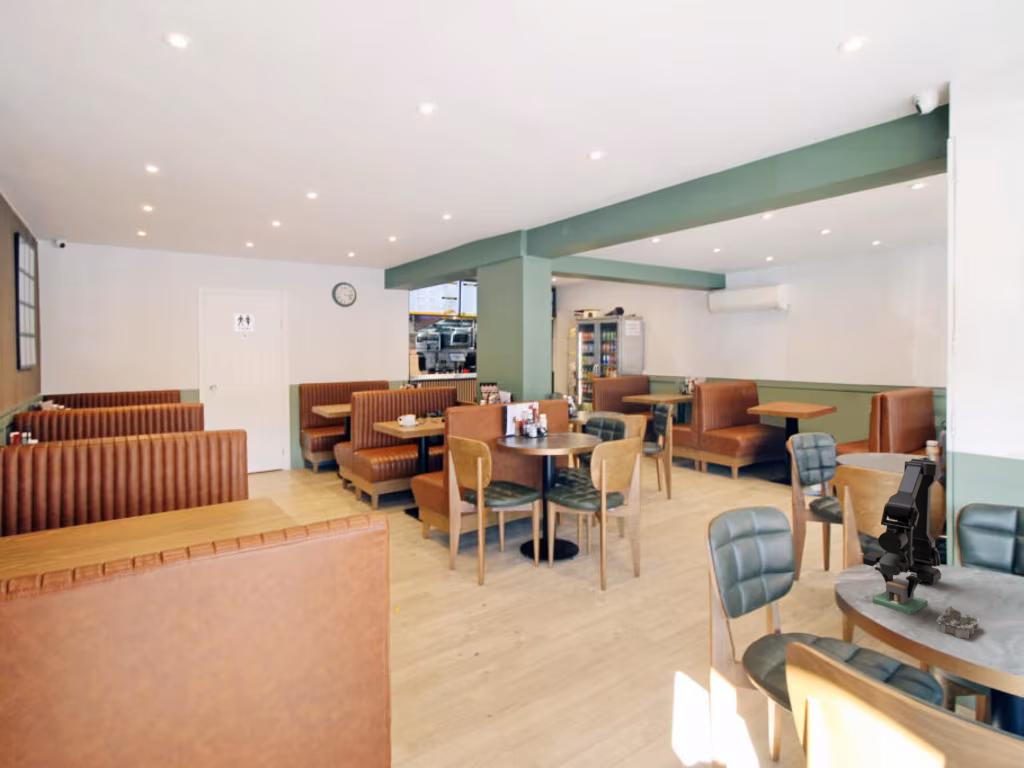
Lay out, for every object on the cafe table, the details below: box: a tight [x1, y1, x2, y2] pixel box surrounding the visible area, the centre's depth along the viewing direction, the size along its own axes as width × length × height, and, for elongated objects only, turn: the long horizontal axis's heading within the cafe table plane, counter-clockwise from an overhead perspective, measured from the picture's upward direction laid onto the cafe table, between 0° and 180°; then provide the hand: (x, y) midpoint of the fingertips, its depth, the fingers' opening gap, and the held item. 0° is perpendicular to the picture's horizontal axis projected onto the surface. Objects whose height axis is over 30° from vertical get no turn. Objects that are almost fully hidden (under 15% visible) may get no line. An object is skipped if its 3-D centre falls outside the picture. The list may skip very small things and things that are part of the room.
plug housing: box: [885, 577, 915, 604], centre depth 166 cm, size 7×5×5 cm, turn 123°
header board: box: [872, 590, 928, 615], centre depth 166 cm, size 11×10×3 cm
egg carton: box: [935, 605, 981, 639], centre depth 150 cm, size 11×8×4 cm
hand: (899, 594), depth 166 cm, fingers closed on plug housing, 5 cm apart
